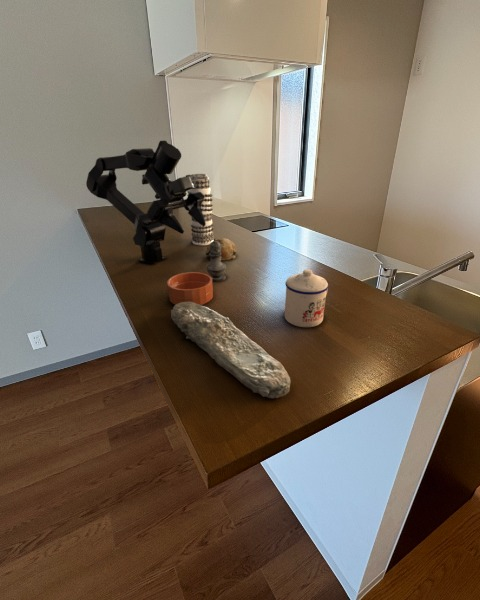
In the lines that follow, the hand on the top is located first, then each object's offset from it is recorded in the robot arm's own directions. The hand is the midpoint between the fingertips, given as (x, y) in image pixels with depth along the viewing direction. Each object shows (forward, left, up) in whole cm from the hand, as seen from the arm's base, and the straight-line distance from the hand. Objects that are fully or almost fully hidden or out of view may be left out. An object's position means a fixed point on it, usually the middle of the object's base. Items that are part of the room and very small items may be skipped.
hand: (194, 228), depth 91 cm
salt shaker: (+7, 0, -14) cm, 16 cm away
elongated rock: (+29, -28, -14) cm, 42 cm away
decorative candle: (-18, +26, -14) cm, 35 cm away
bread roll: (-2, +16, -14) cm, 21 cm away
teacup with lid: (+39, -7, -14) cm, 42 cm away
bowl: (+10, -14, -14) cm, 22 cm away
